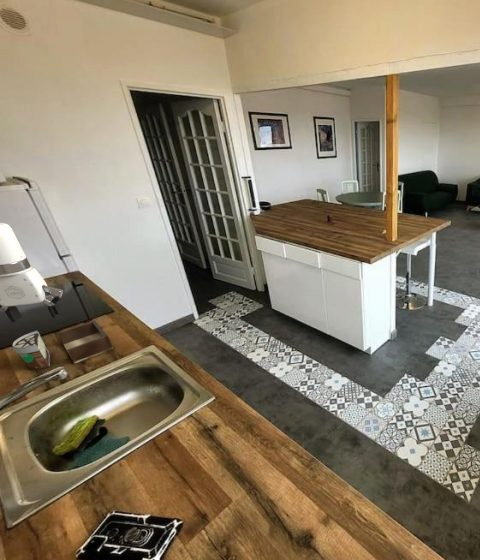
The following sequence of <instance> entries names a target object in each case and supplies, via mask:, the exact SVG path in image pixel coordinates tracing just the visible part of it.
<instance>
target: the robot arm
mask: <svg viewBox="0 0 480 560" xmlns="http://www.w3.org/2000/svg"><path fill="white" fill-rule="evenodd" d="M63 292H64V290H63V289H61V288H57V287H54V286H53V287H52V286H48V284H47V282H46V280H45V279H44V277H43V276H42V275H41V274H40V273H39V271H38V270H37V269H36V268H35V267H32V266H31V264H30V262H29V260H28V257H27V256H26V253H25V252H24V249H23V247H22V245H21V244H20V242H19V240H18V238H17V235H16V234H15V232H14V230H13V229H12V227H11V226H10V225H9V224H7V223H5V222H0V311H1V312H5V314H6V316H7V318H8V319H9V320H10V322H11V324H12V323H16V322H17V321H19V320H20V319H22V317H23V316H22V314H21V312H20V310H19V308H18V307H17V306H27V305H36V304H40V303H43V304H45V305H47V310H48V312H49V313H50V315H51V318H54V319H55V318H57V317H59V316H60V315H61V314H62V309H61V307H60V305H59V302H60V301H61V299H62V298H63ZM52 294H54V296H53V295H52Z"/></svg>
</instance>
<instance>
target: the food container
mask: <svg viewBox="0 0 480 560" xmlns="http://www.w3.org/2000/svg"><path fill="white" fill-rule="evenodd" d="M12 352H13V353H15V354H18V355H19V356H20V357H21V359H22V360H23V362H24V363H25V364H26V366H28V368H29V369H30V370H34V371H36V370H38V371H39V370H44V369H47V368H50V366H51V364H50V363H51V354H50V352H49V350H48V348H47V346H46V344H45V342H44V340H43V338H42V336H41V334H40V332H39V331H38V330H34V331H31V332H29V333H26V334H24V335H21V336H20V337H18V338H17V339H15V340H14V341H13V343H12Z"/></svg>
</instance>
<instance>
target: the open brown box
mask: <svg viewBox="0 0 480 560" xmlns="http://www.w3.org/2000/svg"><path fill="white" fill-rule="evenodd" d="M57 336H58V337H59V339H60V341H61V343H62V345H63V347H64V349H65V350H66V352H67V354H68V355H69V357H70V359H71V361H72V362H73V364H77V363H80V362H83V361H85V360H87V359H90V358H93V357H96V356H98V355H100V354H103V353H106V352H108V351H112V350H113V349H114V347H113V345H112V342H111V340H110V338H109V335H108V334H107V333H106V332H105V331H104V329H103V328H102V327H101V326H100V324H98V322H97V321H96V320H92V321H90V322H86V323H83V324H80V325H77V326H73V327H70V328H67V329H65V330H61V331H59V332H57Z"/></svg>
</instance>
